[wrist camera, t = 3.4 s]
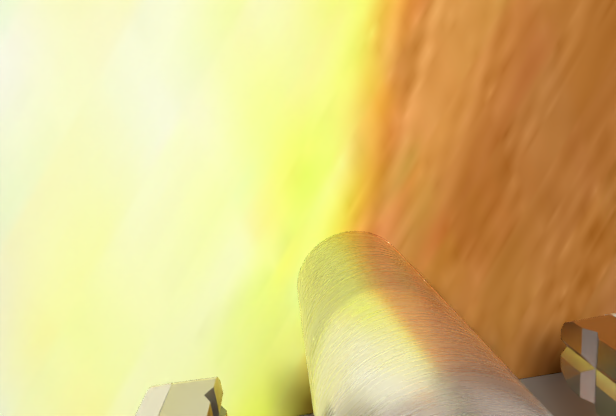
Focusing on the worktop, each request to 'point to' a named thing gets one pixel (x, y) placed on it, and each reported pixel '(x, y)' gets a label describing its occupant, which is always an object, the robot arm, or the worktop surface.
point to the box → (555, 396)
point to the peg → (394, 340)
